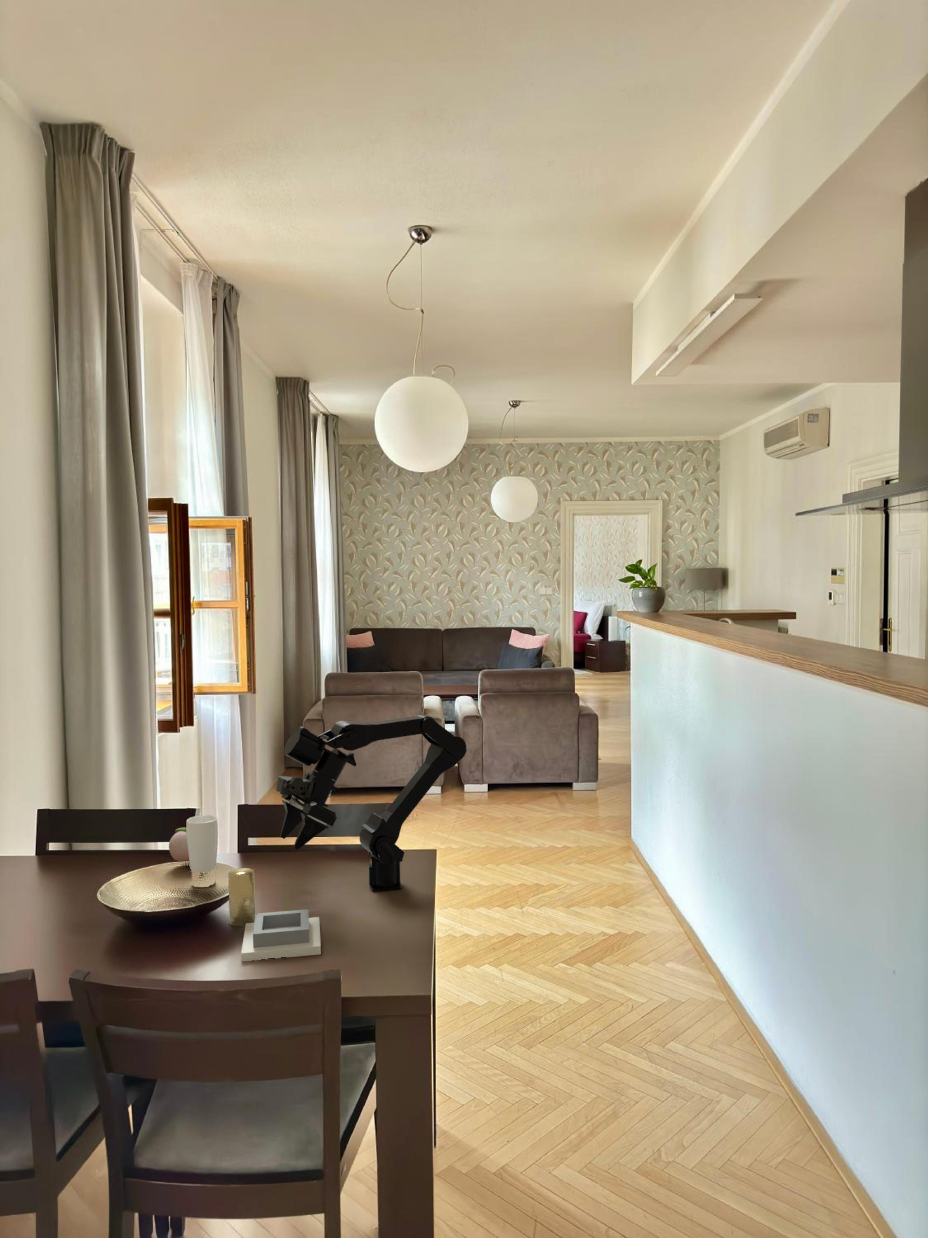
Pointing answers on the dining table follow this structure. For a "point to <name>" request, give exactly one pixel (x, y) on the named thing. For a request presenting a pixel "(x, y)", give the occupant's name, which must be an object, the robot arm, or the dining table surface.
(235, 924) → the cylinder
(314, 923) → the jig plate
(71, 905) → the dining table surface
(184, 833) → the decorative fruit
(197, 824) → the drinking glass
